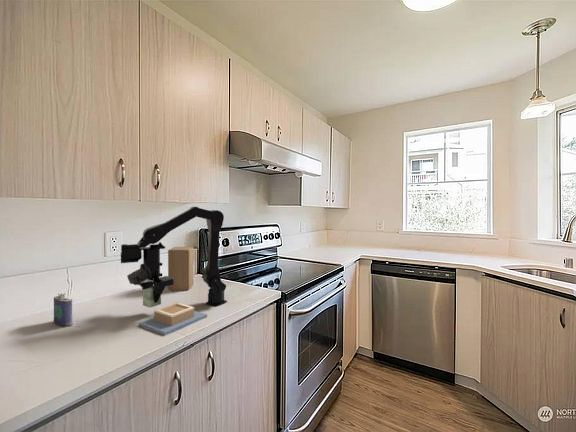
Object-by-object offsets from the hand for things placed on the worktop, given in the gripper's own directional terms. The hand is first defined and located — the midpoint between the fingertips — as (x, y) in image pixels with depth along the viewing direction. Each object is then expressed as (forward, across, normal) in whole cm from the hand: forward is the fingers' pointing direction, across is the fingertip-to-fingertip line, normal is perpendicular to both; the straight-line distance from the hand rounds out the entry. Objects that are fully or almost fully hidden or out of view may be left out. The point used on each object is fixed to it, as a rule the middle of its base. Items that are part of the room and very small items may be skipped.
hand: (151, 301), depth 110 cm
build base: (+5, +13, 0) cm, 14 cm away
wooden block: (+5, -19, +29) cm, 35 cm away
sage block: (+1, 0, 0) cm, 1 cm away
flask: (+5, -18, -22) cm, 29 cm away
